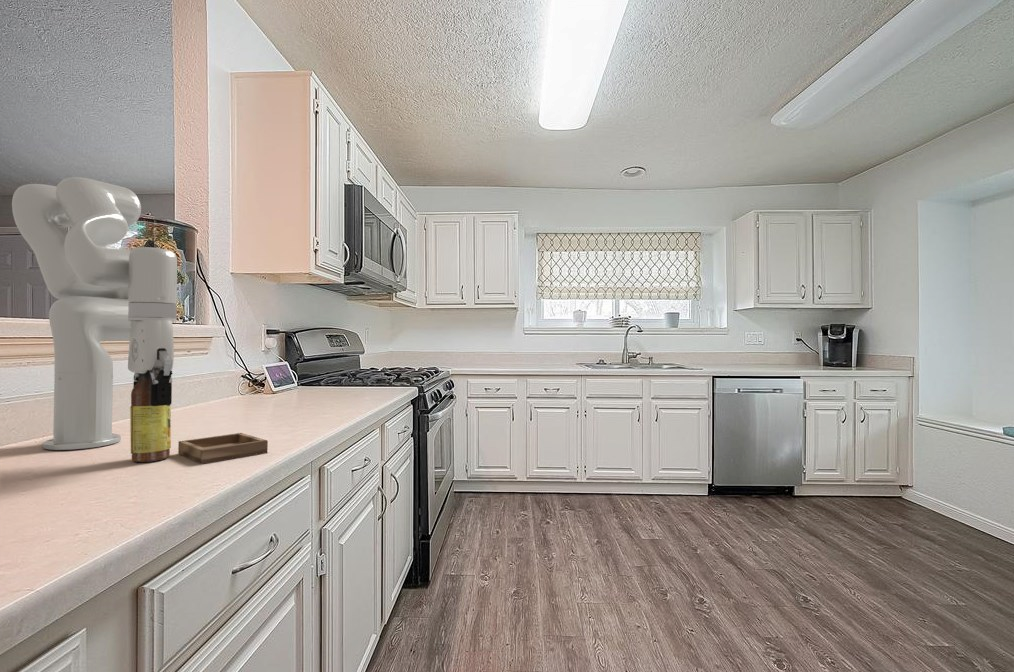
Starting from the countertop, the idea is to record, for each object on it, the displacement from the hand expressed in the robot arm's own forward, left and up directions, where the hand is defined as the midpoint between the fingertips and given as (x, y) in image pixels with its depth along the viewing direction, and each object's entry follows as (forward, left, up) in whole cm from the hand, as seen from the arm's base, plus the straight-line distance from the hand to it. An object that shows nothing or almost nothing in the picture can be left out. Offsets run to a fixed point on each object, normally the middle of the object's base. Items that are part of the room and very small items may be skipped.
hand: (152, 403), depth 94 cm
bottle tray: (+5, +11, -11) cm, 16 cm away
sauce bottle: (0, 0, -11) cm, 11 cm away
